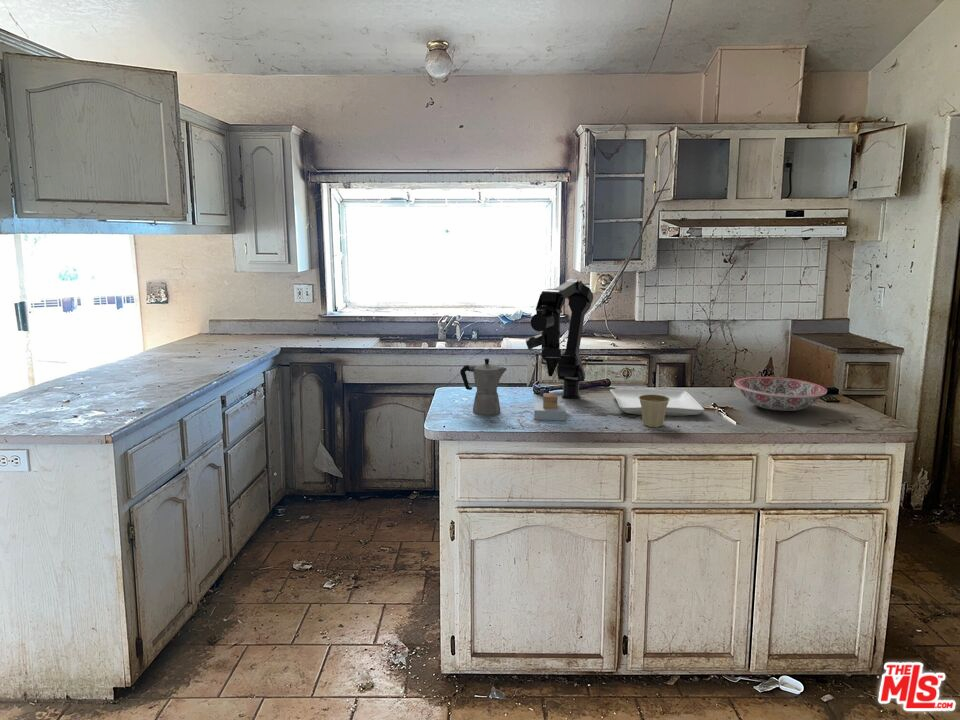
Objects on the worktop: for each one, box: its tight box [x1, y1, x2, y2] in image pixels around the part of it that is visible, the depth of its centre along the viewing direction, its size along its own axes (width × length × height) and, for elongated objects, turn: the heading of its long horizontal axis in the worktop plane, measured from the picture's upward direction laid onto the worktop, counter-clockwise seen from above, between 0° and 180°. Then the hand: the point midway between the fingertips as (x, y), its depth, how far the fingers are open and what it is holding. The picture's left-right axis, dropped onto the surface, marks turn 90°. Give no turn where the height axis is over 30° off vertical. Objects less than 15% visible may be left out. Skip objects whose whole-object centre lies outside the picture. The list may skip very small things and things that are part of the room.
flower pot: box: [639, 394, 670, 428], centre depth 214 cm, size 9×9×9 cm
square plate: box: [609, 388, 705, 417], centre depth 236 cm, size 27×27×4 cm
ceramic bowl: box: [734, 376, 828, 412], centre depth 235 cm, size 29×29×8 cm
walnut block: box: [542, 392, 559, 409], centre depth 224 cm, size 4×4×4 cm
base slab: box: [533, 402, 567, 421], centre depth 224 cm, size 10×10×3 cm
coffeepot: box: [459, 358, 508, 416], centre depth 228 cm, size 15×9×18 cm, turn 88°
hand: (550, 373), depth 232 cm, fingers open, 9 cm apart
